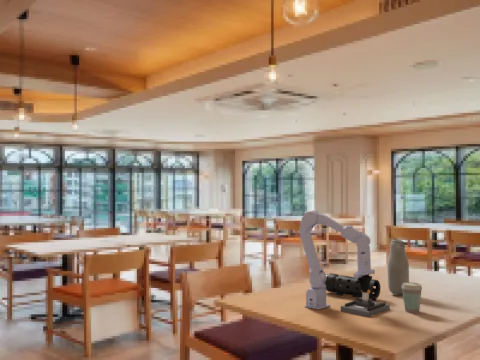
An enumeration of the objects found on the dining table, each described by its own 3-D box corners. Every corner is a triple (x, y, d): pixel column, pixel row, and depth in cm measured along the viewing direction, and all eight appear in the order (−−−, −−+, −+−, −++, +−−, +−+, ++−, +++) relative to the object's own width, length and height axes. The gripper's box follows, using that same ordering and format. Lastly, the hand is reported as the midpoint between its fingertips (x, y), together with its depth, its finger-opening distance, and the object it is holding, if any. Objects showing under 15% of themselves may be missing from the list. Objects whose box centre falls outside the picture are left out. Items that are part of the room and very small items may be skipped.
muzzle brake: (372, 302, 217) (371, 281, 218) (321, 294, 236) (321, 274, 236) (381, 299, 225) (380, 277, 225) (331, 291, 243) (330, 271, 243)
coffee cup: (420, 315, 195) (420, 286, 195) (399, 312, 200) (399, 284, 200) (424, 310, 202) (423, 283, 203) (404, 307, 207) (403, 281, 207)
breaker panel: (368, 317, 193) (368, 304, 193) (340, 311, 203) (340, 299, 203) (389, 308, 205) (389, 297, 206) (362, 303, 215) (362, 292, 216)
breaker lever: (367, 300, 202) (367, 290, 203) (360, 299, 205) (361, 289, 205) (369, 300, 204) (370, 290, 204) (363, 299, 206) (363, 289, 207)
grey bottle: (412, 294, 233) (410, 239, 233) (404, 298, 225) (403, 241, 226) (393, 291, 239) (392, 238, 240) (384, 295, 232) (383, 239, 232)
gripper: (363, 264, 197) (364, 296, 196) (380, 260, 207) (381, 290, 206) (349, 263, 202) (350, 294, 201) (366, 259, 212) (367, 288, 211)
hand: (364, 292), depth 204 cm, fingers closed, pressing on breaker lever
